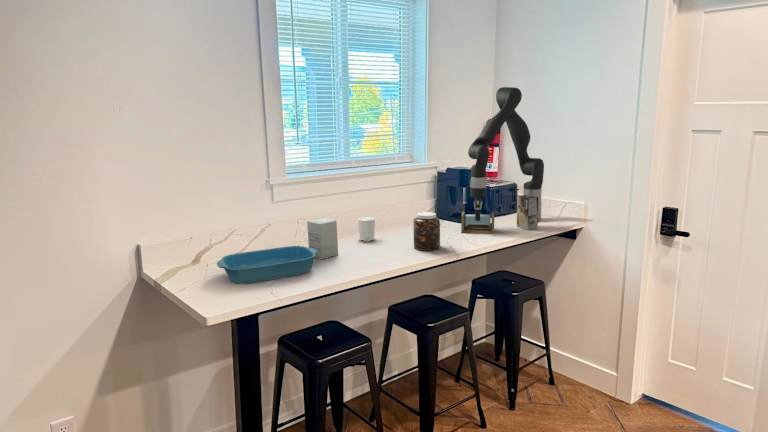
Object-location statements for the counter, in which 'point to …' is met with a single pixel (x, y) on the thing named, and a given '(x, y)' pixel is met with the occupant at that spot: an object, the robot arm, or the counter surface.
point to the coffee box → (527, 212)
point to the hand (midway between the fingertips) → (477, 219)
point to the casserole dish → (268, 264)
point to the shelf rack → (476, 226)
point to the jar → (426, 232)
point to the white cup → (366, 228)
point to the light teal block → (483, 221)
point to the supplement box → (323, 237)
